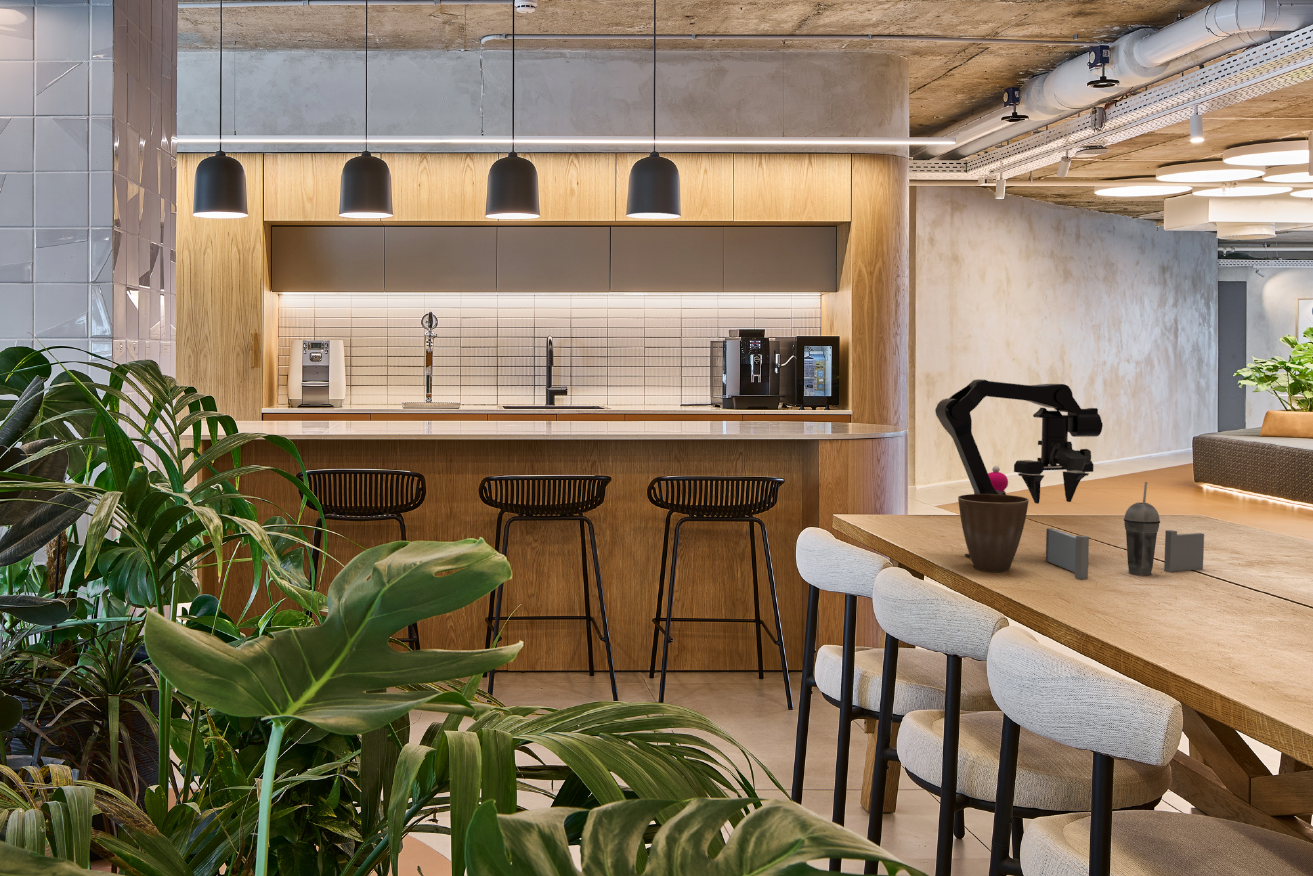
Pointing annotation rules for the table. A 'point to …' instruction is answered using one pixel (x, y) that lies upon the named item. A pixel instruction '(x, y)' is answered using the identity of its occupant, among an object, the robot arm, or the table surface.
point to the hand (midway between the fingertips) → (1052, 502)
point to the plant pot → (992, 528)
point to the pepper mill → (998, 479)
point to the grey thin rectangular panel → (1061, 549)
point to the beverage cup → (1141, 536)
